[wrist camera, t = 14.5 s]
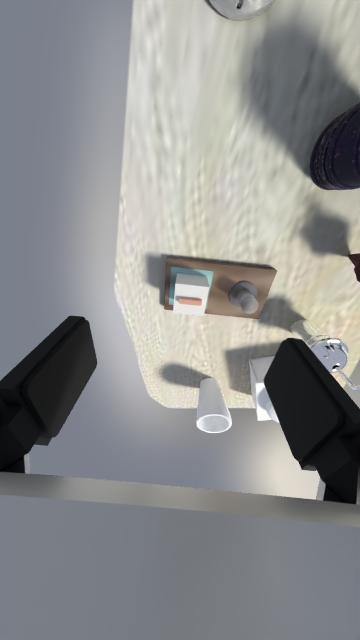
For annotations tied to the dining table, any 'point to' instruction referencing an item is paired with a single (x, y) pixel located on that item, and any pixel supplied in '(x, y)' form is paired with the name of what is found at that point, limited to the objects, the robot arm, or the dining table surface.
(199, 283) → the white cube with handle
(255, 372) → the butter dish
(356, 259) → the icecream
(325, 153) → the storage jar
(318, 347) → the cup with straw
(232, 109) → the dining table surface
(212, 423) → the foam cup
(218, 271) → the post stand
